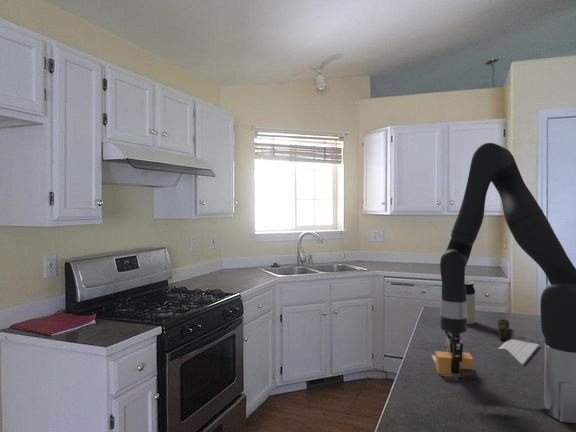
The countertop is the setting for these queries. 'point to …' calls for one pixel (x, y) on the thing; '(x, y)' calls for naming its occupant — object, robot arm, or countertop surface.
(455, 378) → the charcoal stick
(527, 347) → the baseboard
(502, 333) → the brown pointed piece
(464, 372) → the charcoal stick
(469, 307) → the travel mug
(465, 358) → the block
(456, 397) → the countertop surface
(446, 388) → the countertop surface
